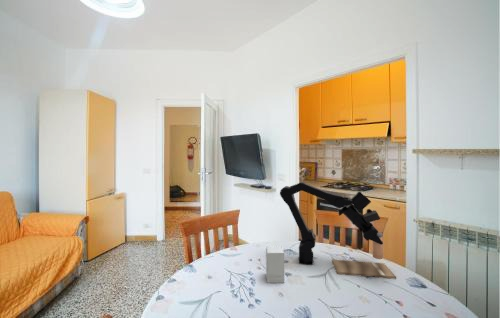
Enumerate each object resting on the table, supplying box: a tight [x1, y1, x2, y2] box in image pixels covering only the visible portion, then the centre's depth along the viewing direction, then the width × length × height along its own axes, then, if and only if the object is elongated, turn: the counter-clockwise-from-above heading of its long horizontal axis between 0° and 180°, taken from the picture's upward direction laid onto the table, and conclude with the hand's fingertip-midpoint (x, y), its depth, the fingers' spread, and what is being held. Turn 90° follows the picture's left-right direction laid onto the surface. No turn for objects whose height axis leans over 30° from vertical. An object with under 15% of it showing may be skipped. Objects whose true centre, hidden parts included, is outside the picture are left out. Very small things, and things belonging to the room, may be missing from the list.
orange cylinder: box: [372, 231, 384, 260], centre depth 100 cm, size 4×4×11 cm
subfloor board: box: [331, 259, 397, 279], centre depth 102 cm, size 24×12×1 cm, turn 79°
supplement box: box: [265, 245, 285, 284], centre depth 95 cm, size 7×7×13 cm
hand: (380, 242), depth 100 cm, fingers closed on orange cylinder, 4 cm apart
